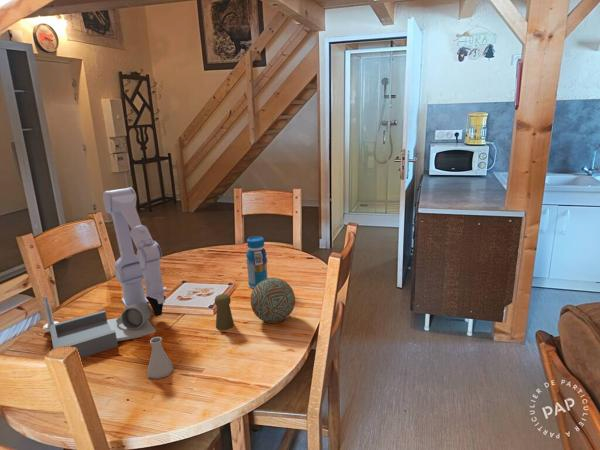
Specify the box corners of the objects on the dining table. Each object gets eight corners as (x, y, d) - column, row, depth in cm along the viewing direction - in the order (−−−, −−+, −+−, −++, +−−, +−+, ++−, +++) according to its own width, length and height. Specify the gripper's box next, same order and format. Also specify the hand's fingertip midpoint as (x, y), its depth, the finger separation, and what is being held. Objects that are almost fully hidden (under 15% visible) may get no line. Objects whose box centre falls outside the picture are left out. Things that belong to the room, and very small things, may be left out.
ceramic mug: (152, 320, 142) (153, 299, 140) (143, 331, 134) (143, 309, 132) (122, 318, 142) (122, 297, 140) (111, 328, 134) (111, 306, 132)
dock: (53, 341, 132) (49, 325, 131) (143, 315, 148) (141, 300, 146) (58, 368, 118) (53, 350, 116) (158, 336, 133) (155, 319, 132)
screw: (61, 331, 136) (44, 336, 134) (60, 325, 140) (44, 330, 138) (53, 296, 133) (36, 300, 130) (52, 291, 137) (36, 295, 134)
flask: (150, 364, 117) (145, 333, 114) (176, 362, 117) (172, 331, 115) (143, 380, 110) (138, 348, 107) (170, 378, 110) (166, 346, 108)
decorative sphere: (267, 306, 149) (264, 268, 145) (303, 314, 142) (302, 274, 138) (243, 325, 136) (239, 284, 132) (282, 335, 129) (279, 292, 125)
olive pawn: (230, 331, 133) (227, 300, 130) (212, 329, 134) (209, 299, 131) (236, 321, 139) (234, 292, 136) (220, 320, 140) (217, 291, 137)
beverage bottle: (244, 287, 165) (240, 240, 160) (254, 279, 173) (251, 234, 167) (263, 290, 162) (259, 242, 157) (272, 282, 170) (269, 236, 164)
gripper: (171, 282, 134) (176, 319, 138) (158, 269, 146) (163, 304, 149) (149, 288, 130) (155, 326, 134) (138, 274, 142) (143, 309, 145)
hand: (158, 314), depth 141 cm, fingers closed
